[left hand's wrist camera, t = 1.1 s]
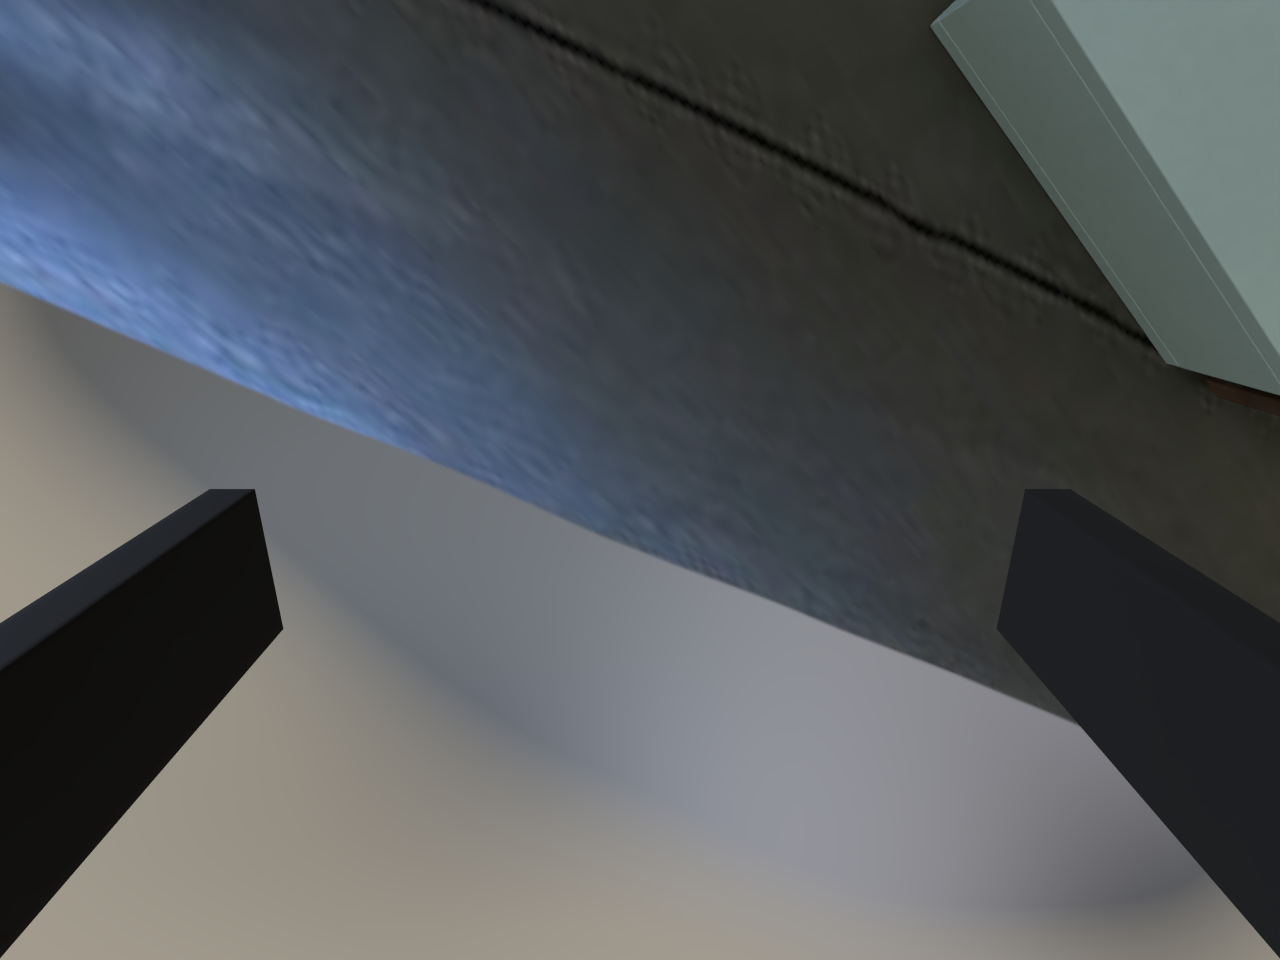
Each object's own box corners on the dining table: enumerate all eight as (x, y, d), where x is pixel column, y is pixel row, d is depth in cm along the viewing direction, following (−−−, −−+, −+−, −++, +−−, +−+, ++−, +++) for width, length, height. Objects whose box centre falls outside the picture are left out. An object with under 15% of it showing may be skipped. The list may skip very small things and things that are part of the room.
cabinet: (1369, 208, 34) (1592, 206, 26) (1165, 363, 36) (1312, 405, 28) (1148, -188, 28) (1342, -343, 21) (928, 26, 31) (1027, -38, 23)
